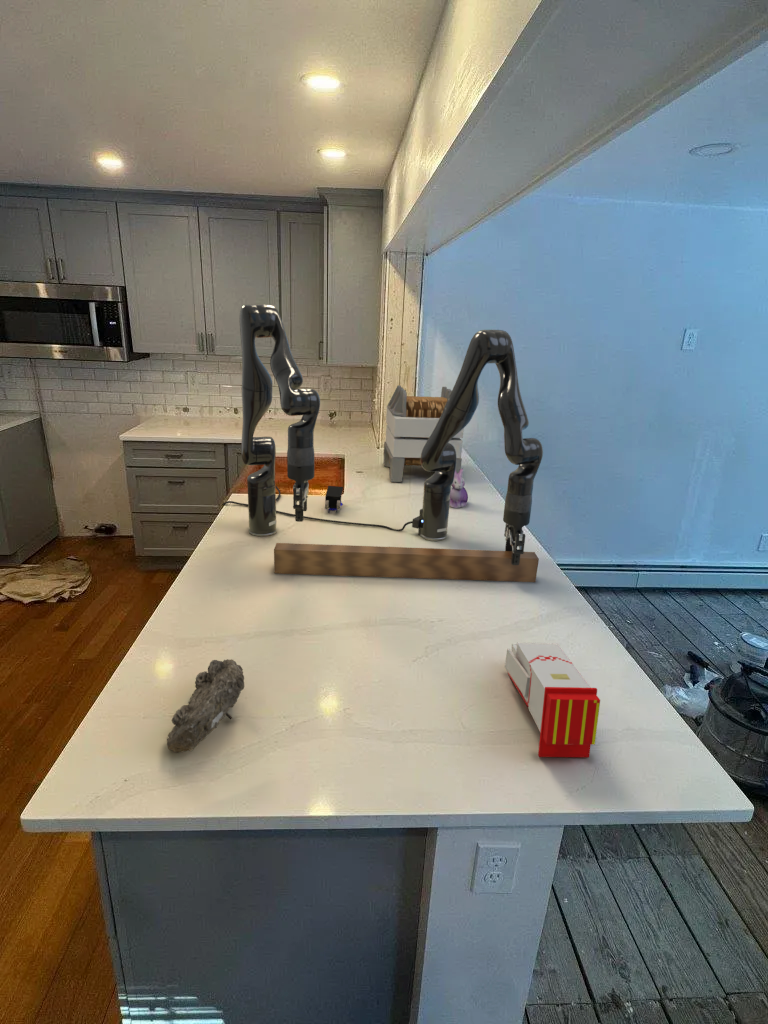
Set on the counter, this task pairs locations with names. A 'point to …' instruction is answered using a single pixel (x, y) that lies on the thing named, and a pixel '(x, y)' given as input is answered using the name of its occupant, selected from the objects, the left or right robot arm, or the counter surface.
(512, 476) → the right robot arm
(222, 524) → the counter surface
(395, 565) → the post
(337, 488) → the figurine character
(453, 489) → the figurine
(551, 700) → the toy
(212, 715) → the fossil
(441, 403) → the transformer
